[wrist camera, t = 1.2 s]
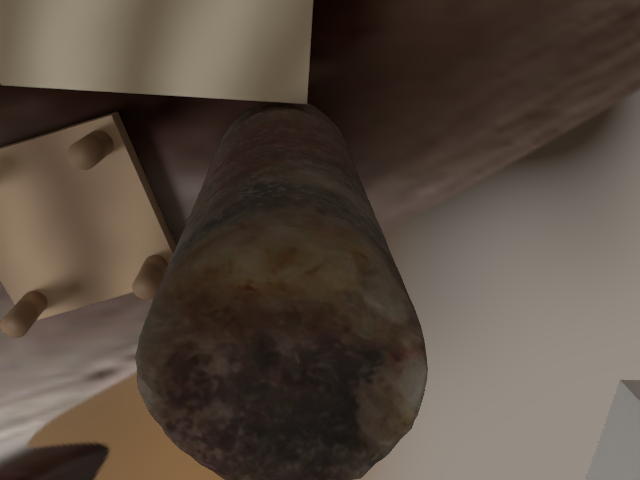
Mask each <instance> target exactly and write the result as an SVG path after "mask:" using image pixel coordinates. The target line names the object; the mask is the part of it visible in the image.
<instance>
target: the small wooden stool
mask: <svg viewBox="0 0 640 480" xmlns="http://www.w3.org/2000/svg"><path fill="white" fill-rule="evenodd" d="M312 13H313V0H0V84H1V85H7V86H23V87H39V88H55V89H71V90H88V91H104V92H120V93H136V94H152V95H169V96H185V97H201V98H217V99H233V100H250V101H266V102H282V103H298V104H307V95H308V79H309V62H310V46H311V30H312Z"/></svg>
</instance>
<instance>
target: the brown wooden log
mask: <svg viewBox="0 0 640 480" xmlns="http://www.w3.org/2000/svg"><path fill="white" fill-rule="evenodd" d="M135 359H136V364H137V382H138V389H139V391H140V394H141V396H142V398H143V400H144V403H145V404H146V407H147V409H148V411H149V412H150V413H151V415H152V417H153V418H154V419H155V420H156V421H157V422H158V423H159V424H160V426H161V427H162V428H163V430H164V432H165V434H166V435H167V436H168V437H169V438H170V439H171V440H172V441H173V443H174V444H175V445H176V446H177V447H178V448H180V449H181V450H182V451H184V452H185V453H187V454H188V455H190V456H191V457H192V458H193V459H195V460H196V461H197V462H198V463H199V464H201V465H203V466H205V467H207V468H208V469H210V470H212V471H213V472H215V473H216V474H218V475H219V476H220V477H222V478H223V479H225V480H353V479H359V478H362V477H363V476H364V475H365V474H366V473H367V472H368V470H370V468H371V467H373V465H374V464H375V463H377V462H378V461H380V460H382V459H383V458H384V457H385V456H387V455H388V454H389V453H390V451H391V450H392V449H393V448H394V447H395V445H396V444H397V443H398V442H399V440H400V439H401V438H402V437H403V436H404V435H405V434H406V433H407V432H409V431H410V430H411V429H412V426H413V423H414V420H415V418H416V417H417V415H418V412H419V409H420V406H421V403H422V399H423V396H424V391H425V386H426V381H427V372H428V368H427V358H426V350H425V343H424V337H423V334H422V329H421V325H420V322H419V320H418V317H417V314H416V311H415V309H414V306H413V304H412V302H411V300H410V298H409V295H408V293H407V290H406V288H405V285H404V283H403V281H402V278H401V276H400V274H399V271H398V269H397V267H396V265H395V262H394V260H393V257H392V255H391V253H390V251H389V248H388V245H387V243H386V239H385V237H384V235H383V233H382V230H381V228H380V226H379V223H378V221H377V219H376V217H375V214H374V212H373V209H372V207H371V204H370V202H369V200H368V198H367V195H366V193H365V190H364V188H363V185H362V183H361V181H360V178H359V176H358V173H357V171H356V168H355V165H354V163H353V160H352V157H351V155H350V152H349V150H348V147H347V145H346V143H345V141H344V139H343V136H342V134H341V132H340V130H339V129H338V127H337V126H336V125H335V124H334V123H333V121H332V120H331V119H330V118H329V117H328V116H327V115H325V114H324V113H323V112H321V111H320V110H319V109H317V108H316V107H314V106H312V105H311V104H308V103H307V104H298V103H282V102H265V103H262V104H260V105H258V106H256V107H254V108H252V109H249V110H248V111H246V112H245V113H244V114H242V115H241V116H239V117H238V118H237V119H236V120H235V121H234V122H233V123H232V124H231V125H230V126H229V128H228V129H227V131H226V132H225V134H224V136H223V138H222V140H221V143H220V145H219V147H218V149H217V152H216V154H215V156H214V158H213V161H212V163H211V166H210V168H209V171H208V173H207V176H206V178H205V181H204V183H203V186H202V188H201V191H200V193H199V196H198V198H197V200H196V202H195V204H194V207H193V209H192V211H191V213H190V216H189V218H188V221H187V223H186V225H185V228H184V230H183V232H182V235H181V237H180V239H179V242H178V244H177V246H176V249H175V252H174V254H173V256H172V258H171V260H170V263H169V265H168V267H167V269H166V272H165V274H164V276H163V279H162V281H161V283H160V285H159V288H158V290H157V292H156V294H155V296H154V299H153V302H152V304H151V307H150V310H149V312H148V315H147V318H146V321H145V324H144V326H143V329H142V332H141V335H140V338H139V343H138V348H137V352H136V357H135Z"/></svg>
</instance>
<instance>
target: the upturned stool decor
mask: <svg viewBox="0 0 640 480" xmlns="http://www.w3.org/2000/svg"><path fill="white" fill-rule="evenodd" d="M175 249H176V244H175V242H174V240H173V237H172V235H171V233H170V230H169V228H168V226H167V224H166V221H165V219H164V217H163V214H162V212H161V210H160V207H159V205H158V203H157V201H156V198H155V196H154V194H153V191H152V189H151V187H150V185H149V182H148V180H147V178H146V175H145V173H144V171H143V168H142V166H141V164H140V162H139V159H138V157H137V155H136V152H135V150H134V148H133V145H132V143H131V141H130V139H129V136H128V134H127V132H126V129H125V127H124V125H123V122H122V120H121V118H120V116H119V113H118V111H117V112H114V113H111V114H107V115H104V116H101V117H97V118H94V119H91V120H88V121H84V122H81V123H78V124H75V125H71V126H68V127H65V128H62V129H58V130H55V131H52V132H49V133H45V134H42V135H39V136H36V137H32V138H29V139H26V140H23V141H19V142H16V143H13V144H10V145H6V146H3V147H0V281H1V283H2V284H3V286H4V288H5V289H6V291H7V293H8V294H9V296H10V298H11V299H12V301H13V303H14V304H15V306H14V307H13V308H12V309H11V310H10V311H9V312H8V314H7V315H6V316H5V317H4V318H3V319H2V320H1V323H0V328H1V330H2V331H3V333H4V334H6V335H7V336H9V337H13V338H19V337H22V336H24V335H25V334H26V332H27V331H28V330H29V329H30V327H31V326H32V325H33V324H34V322H35V321H36V320H40V319H43V318H47V317H50V316H53V315H57V314H60V313H64V312H67V311H70V310H74V309H77V308H81V307H84V306H87V305H91V304H94V303H98V302H101V301H105V300H108V299H111V298H115V297H118V296H122V295H125V294H128V293H132V292H134V294H135V295H136V296H137V297H139V298H141V299H145V300H148V299H152V298H154V296H155V294H156V292H157V290H158V288H159V285H160V283H161V281H162V279H163V276H164V274H165V272H166V269H167V267H168V265H169V263H170V260H171V258H172V256H173V254H174V252H175Z"/></svg>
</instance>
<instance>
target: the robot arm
mask: <svg viewBox="0 0 640 480" xmlns="http://www.w3.org/2000/svg"><path fill="white" fill-rule="evenodd" d="M586 479H587V480H640V380H620V382H619V385H618V388H617V391H616V393H615V396H614V399H613V402H612V404H611V408H610V410H609V413H608V416H607V419H606V421H605V424H604V427H603V430H602V433H601V436H600V439H599V441H598V444H597V447H596V450H595V453H594V455H593V458H592V461H591V464H590V467H589V470H588V472H587V475H586Z"/></svg>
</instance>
